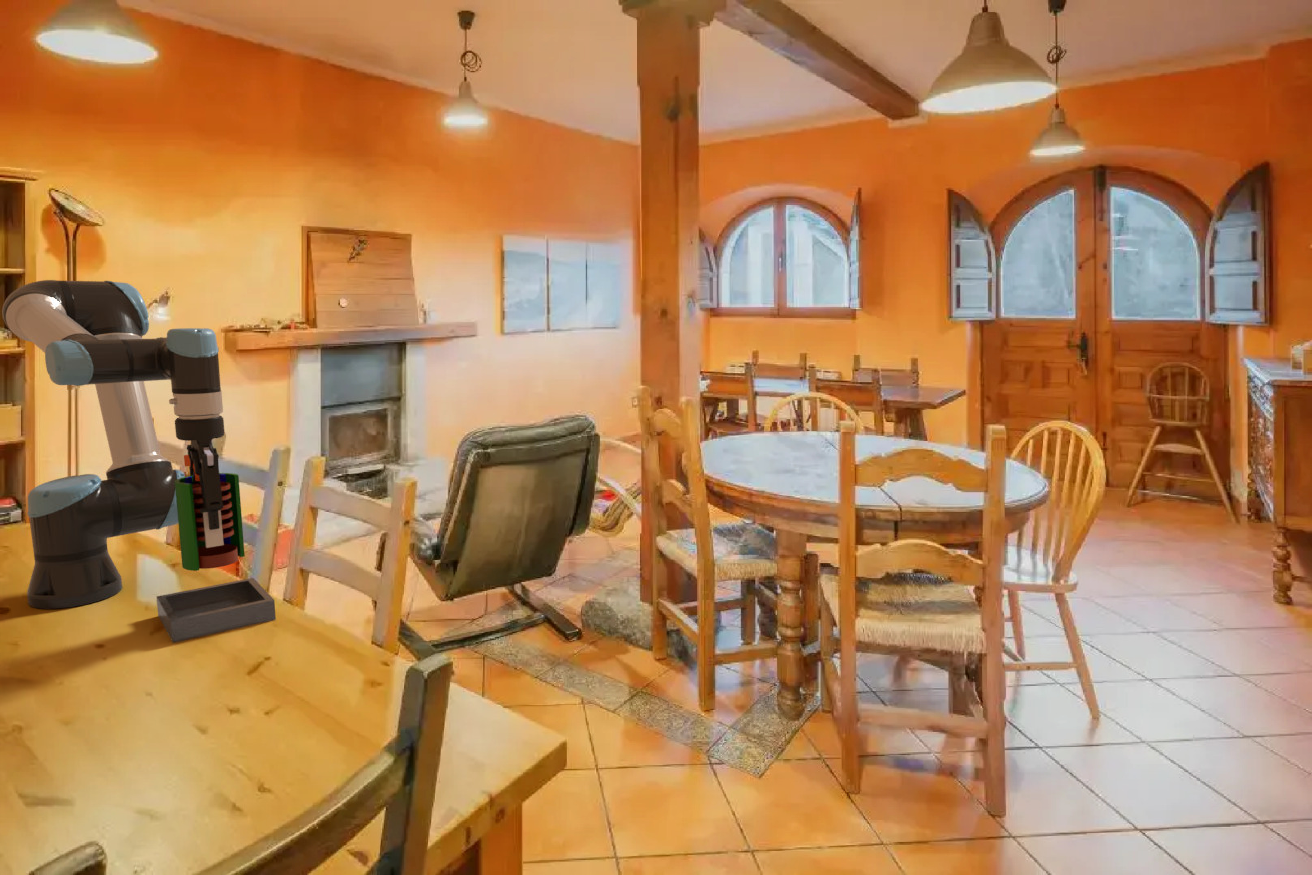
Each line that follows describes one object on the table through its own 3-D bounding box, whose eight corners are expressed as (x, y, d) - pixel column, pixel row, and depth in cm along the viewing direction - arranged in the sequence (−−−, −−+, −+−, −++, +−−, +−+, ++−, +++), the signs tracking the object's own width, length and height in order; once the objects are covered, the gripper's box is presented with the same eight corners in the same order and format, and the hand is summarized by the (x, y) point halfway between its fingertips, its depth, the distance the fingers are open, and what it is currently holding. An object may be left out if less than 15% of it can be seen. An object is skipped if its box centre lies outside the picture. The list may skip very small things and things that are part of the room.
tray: (158, 615, 147) (156, 596, 146) (254, 595, 157) (253, 577, 156) (172, 642, 135) (170, 621, 134) (275, 619, 145) (274, 599, 145)
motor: (212, 572, 139) (201, 460, 136) (168, 569, 140) (156, 458, 137) (252, 555, 149) (242, 450, 146) (211, 552, 150) (200, 449, 147)
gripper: (165, 412, 145) (176, 532, 149) (185, 424, 130) (197, 558, 134) (210, 408, 150) (221, 526, 153) (235, 420, 135) (246, 549, 138)
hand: (210, 540), depth 143 cm, fingers closed on motor, 7 cm apart
